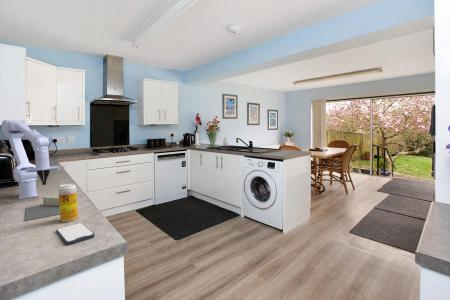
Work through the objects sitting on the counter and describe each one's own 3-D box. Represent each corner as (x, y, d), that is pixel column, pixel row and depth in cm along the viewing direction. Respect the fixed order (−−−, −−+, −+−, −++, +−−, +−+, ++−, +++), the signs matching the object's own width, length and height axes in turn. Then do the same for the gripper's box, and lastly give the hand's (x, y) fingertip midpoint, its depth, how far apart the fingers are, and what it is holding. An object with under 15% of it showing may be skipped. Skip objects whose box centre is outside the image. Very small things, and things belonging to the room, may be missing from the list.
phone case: (55, 233, 87) (66, 247, 76) (55, 229, 87) (66, 242, 76) (82, 226, 93) (96, 238, 82) (81, 222, 93) (95, 233, 82)
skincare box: (42, 205, 115) (63, 207, 113) (42, 196, 114) (63, 198, 112) (54, 201, 121) (74, 203, 119) (54, 193, 121) (74, 194, 119)
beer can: (59, 223, 94) (57, 187, 92) (61, 218, 99) (59, 184, 97) (77, 221, 96) (75, 185, 95) (78, 216, 102) (76, 182, 100)
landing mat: (26, 208, 112) (26, 207, 111) (63, 202, 121) (63, 201, 121) (24, 221, 96) (24, 220, 96) (68, 213, 106) (68, 212, 106)
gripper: (24, 161, 115) (26, 188, 116) (59, 159, 124) (61, 183, 126) (24, 159, 121) (26, 185, 122) (58, 157, 130) (60, 181, 131)
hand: (44, 184), depth 124 cm, fingers closed
